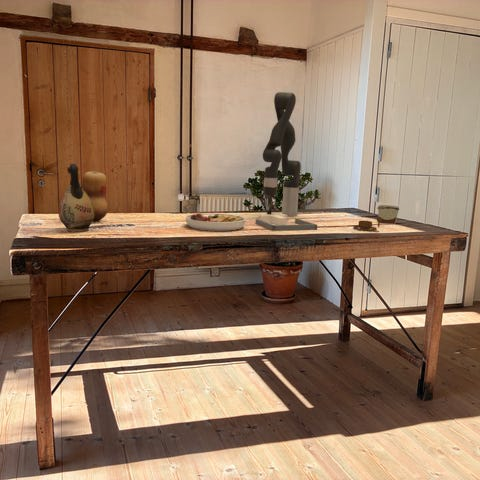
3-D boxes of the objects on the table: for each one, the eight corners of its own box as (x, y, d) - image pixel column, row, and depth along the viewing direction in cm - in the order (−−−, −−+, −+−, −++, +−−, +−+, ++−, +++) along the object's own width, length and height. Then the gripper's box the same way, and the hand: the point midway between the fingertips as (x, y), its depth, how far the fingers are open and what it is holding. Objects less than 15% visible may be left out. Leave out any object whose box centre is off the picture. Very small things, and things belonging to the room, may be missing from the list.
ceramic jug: (58, 228, 220) (55, 162, 214) (92, 227, 226) (91, 163, 220) (60, 234, 205) (57, 163, 199) (97, 233, 211) (96, 164, 205)
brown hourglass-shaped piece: (97, 224, 234) (96, 172, 229) (74, 222, 238) (72, 171, 233) (113, 220, 247) (112, 172, 242) (91, 218, 251) (90, 170, 246)
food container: (395, 222, 280) (397, 205, 278) (398, 224, 274) (399, 206, 272) (374, 221, 281) (375, 204, 279) (376, 223, 275) (377, 205, 273)
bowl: (211, 221, 261) (211, 206, 259) (256, 227, 244) (257, 212, 243) (173, 227, 237) (173, 211, 235) (220, 235, 220) (221, 218, 218)
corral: (255, 223, 255) (255, 219, 255) (297, 222, 264) (297, 218, 264) (272, 230, 235) (272, 225, 235) (317, 229, 244) (317, 224, 243)
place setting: (346, 227, 257) (346, 217, 256) (378, 227, 263) (379, 216, 262) (363, 233, 241) (364, 222, 240) (397, 233, 246) (398, 221, 245)
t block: (258, 221, 264) (259, 214, 263) (283, 221, 269) (283, 214, 268) (269, 225, 250) (269, 218, 250) (295, 225, 256) (295, 217, 255)
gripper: (259, 184, 270) (258, 215, 273) (269, 186, 258) (267, 218, 261) (271, 185, 273) (270, 215, 276) (281, 187, 261) (279, 218, 264)
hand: (268, 216), depth 269 cm, fingers closed
